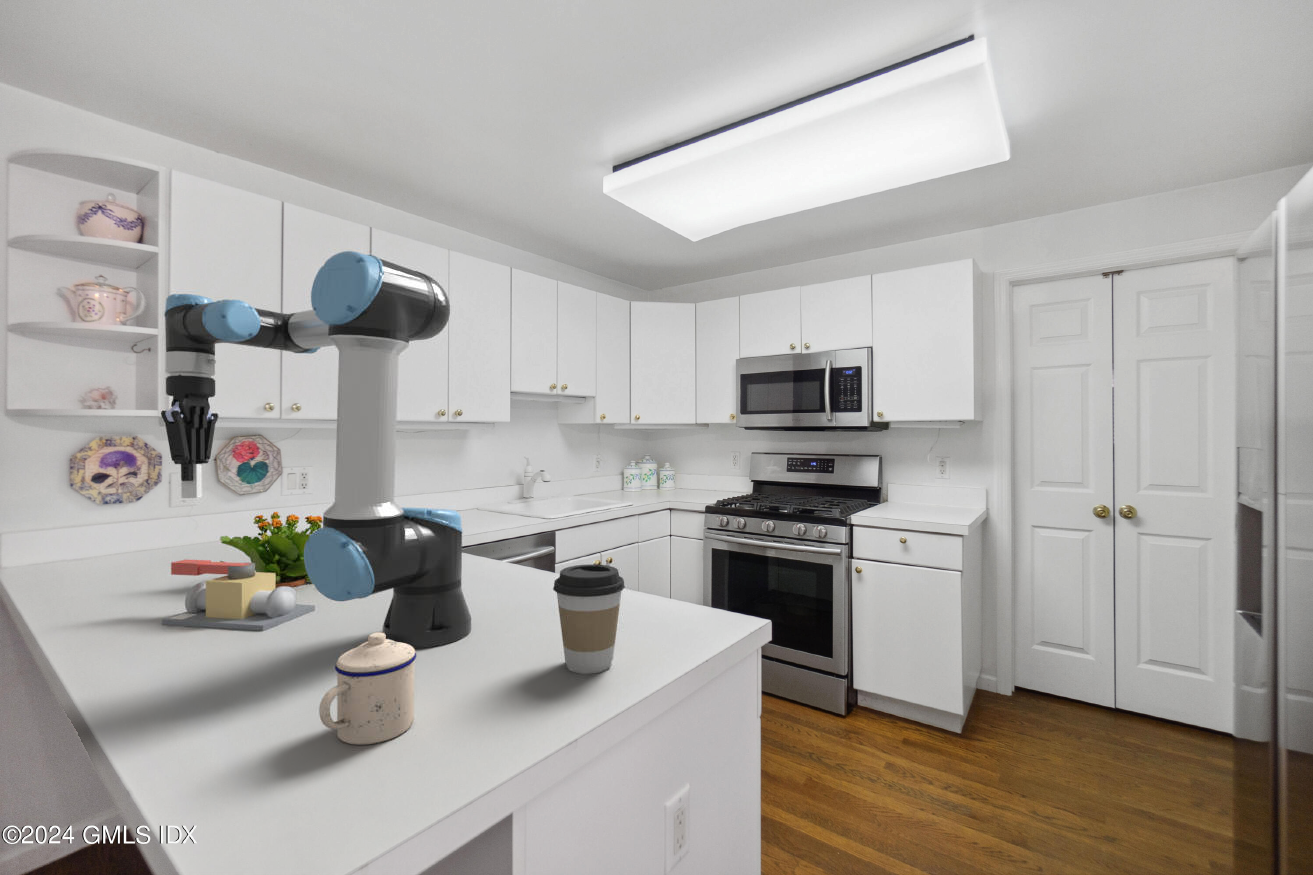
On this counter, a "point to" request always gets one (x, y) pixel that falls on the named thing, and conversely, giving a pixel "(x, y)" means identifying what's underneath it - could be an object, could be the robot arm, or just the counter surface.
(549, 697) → the counter surface
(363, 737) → the teacup with lid
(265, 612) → the valve base
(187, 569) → the lever
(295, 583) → the potted flower
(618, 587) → the coffee cup
